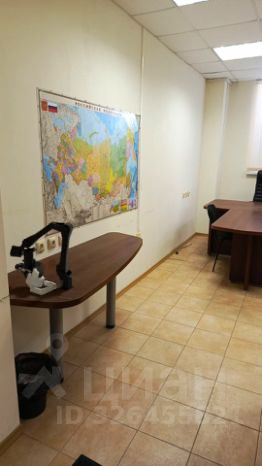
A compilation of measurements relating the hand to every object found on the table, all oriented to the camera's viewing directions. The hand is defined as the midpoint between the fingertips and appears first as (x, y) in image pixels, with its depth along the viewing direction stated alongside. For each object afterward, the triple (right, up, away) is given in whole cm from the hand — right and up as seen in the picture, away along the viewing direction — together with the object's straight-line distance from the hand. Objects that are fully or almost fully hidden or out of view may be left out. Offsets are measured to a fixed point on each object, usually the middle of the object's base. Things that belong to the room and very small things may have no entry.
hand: (28, 282), depth 190 cm
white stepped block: (+3, -1, -2) cm, 4 cm away
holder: (+10, -4, -5) cm, 12 cm away
